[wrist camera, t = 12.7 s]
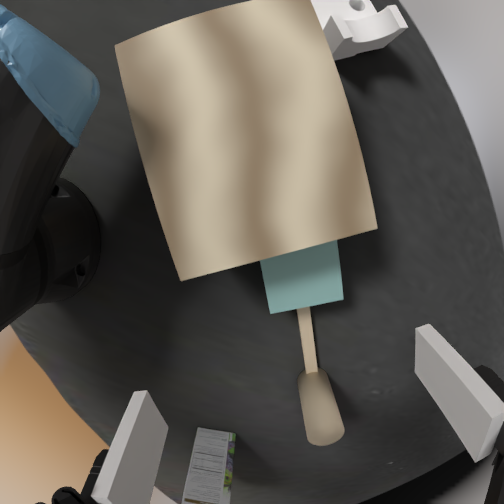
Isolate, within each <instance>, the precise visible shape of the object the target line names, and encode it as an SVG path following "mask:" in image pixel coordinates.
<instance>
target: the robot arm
mask: <svg viewBox="0 0 504 504" xmlns="http://www.w3.org/2000/svg"><path fill="white" fill-rule="evenodd" d="M99 96H100V86H99V82H98V80H97V78H96V76H95V75H94V74H93V73H92V72H91V71H90V70H89V69H88V68H87V67H86V66H84V65H83V64H82V63H81V62H80V61H78V60H77V59H76V58H75V57H73V56H72V55H71V54H70V53H68V52H67V51H66V50H64V49H63V48H62V47H61V46H59V45H58V44H57V43H55V42H54V41H53V40H51V39H50V38H49V37H47V36H46V35H44V34H43V33H42V32H40V31H39V30H37V29H36V28H35V27H33V26H32V25H30V24H29V23H28V22H26V21H25V20H23V19H22V18H20V17H18V16H17V15H15V14H14V13H12V12H11V11H9V10H7V9H6V8H5V7H4V6H2V5H0V332H1V331H2V330H3V329H4V328H5V327H7V326H8V325H9V324H11V323H12V322H13V321H14V320H16V319H17V318H18V317H19V316H21V315H22V314H23V313H25V312H26V311H27V310H29V309H30V308H31V307H33V306H34V305H35V304H42V303H48V302H55V301H61V300H64V299H67V298H69V297H71V296H73V295H74V294H76V293H77V292H78V291H80V290H81V289H82V288H83V287H84V286H86V285H87V284H88V282H89V281H90V280H91V278H92V277H93V275H94V273H95V271H96V268H97V266H98V262H99V257H100V249H101V240H100V231H99V226H98V222H97V219H96V216H95V213H94V211H93V209H92V207H91V205H90V203H89V201H88V200H87V198H86V197H85V196H84V194H83V193H82V192H81V191H80V190H79V189H78V188H77V187H76V186H75V185H73V184H72V183H71V182H69V181H67V180H65V179H63V178H60V177H59V176H60V174H61V172H62V170H63V168H64V167H65V165H66V163H67V161H68V159H69V157H70V155H71V153H72V151H73V150H74V148H77V147H78V145H79V142H80V140H79V137H80V135H81V133H82V131H83V129H84V127H85V125H86V123H87V121H88V120H89V118H90V116H91V114H92V112H93V111H94V109H95V107H96V105H97V103H98V100H99ZM415 373H416V375H417V376H418V377H419V379H420V380H421V382H422V383H423V385H424V386H425V387H426V389H427V390H428V392H429V393H430V395H431V396H432V398H433V399H434V400H435V402H436V403H437V405H438V406H439V408H440V409H441V411H442V412H443V414H444V415H445V417H446V418H447V420H448V421H449V423H450V424H451V426H452V427H453V429H454V430H455V432H456V433H457V435H458V436H459V438H460V439H461V441H462V443H463V444H464V446H465V447H466V449H467V450H468V452H469V453H470V455H471V457H472V458H473V460H474V461H475V462H477V461H479V460H481V459H482V458H484V457H486V456H487V455H489V454H491V451H492V449H493V447H494V446H495V447H496V448H497V450H498V452H497V455H496V457H495V459H494V461H493V463H492V465H494V469H493V473H492V477H491V481H490V485H489V489H488V492H487V495H486V499H485V502H484V504H504V382H503V381H502V380H501V378H499V377H498V375H497V374H496V373H495V372H494V371H493V370H492V369H490V368H488V367H486V366H483V365H480V366H478V367H477V368H475V369H473V368H472V367H471V366H470V365H469V364H468V363H467V362H466V361H465V360H464V359H463V358H462V357H461V356H460V355H459V354H458V353H457V351H456V350H455V349H454V348H453V347H452V346H451V345H450V344H449V343H448V342H447V341H446V340H445V339H444V338H443V337H442V336H441V335H440V334H439V333H438V332H437V331H436V330H435V329H434V328H433V327H432V326H431V325H430V324H426V325H424V326H421V327H418V328H416V346H415ZM168 428H169V427H168V426H167V424H166V422H165V421H164V419H163V417H162V416H161V414H160V412H159V410H158V409H157V407H156V405H155V403H154V402H153V400H152V398H151V396H150V394H149V392H148V391H147V390H145V391H135V392H134V393H133V395H132V397H131V400H130V402H129V404H128V407H127V409H126V411H125V413H124V416H123V418H122V420H121V423H120V425H119V427H118V430H117V432H116V435H115V437H114V439H113V442H112V444H111V447H110V449H109V450H107V449H104V450H102V451H101V452H100V453H99V455H98V456H97V457H96V459H95V461H94V463H93V467H92V468H91V470H90V474H89V475H88V478H87V480H86V482H85V485H84V487H83V489H82V492H81V494H79V493H78V492H77V491H76V490H75V489H74V488H72V487H62V488H60V489H58V490H57V491H56V492H55V493H54V495H53V497H52V504H150V500H151V495H152V491H153V487H154V483H155V479H156V475H157V471H158V467H159V463H160V459H161V455H162V451H163V447H164V443H165V440H166V436H167V432H168ZM36 504H45V503H43V502H38V503H36Z"/></svg>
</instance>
